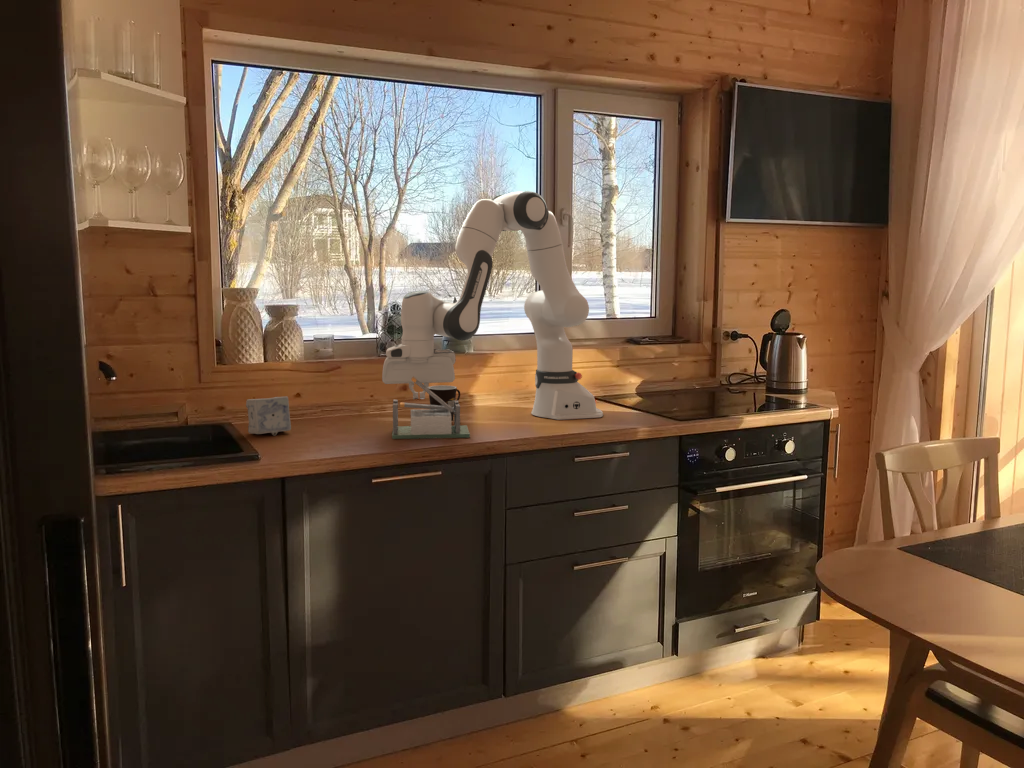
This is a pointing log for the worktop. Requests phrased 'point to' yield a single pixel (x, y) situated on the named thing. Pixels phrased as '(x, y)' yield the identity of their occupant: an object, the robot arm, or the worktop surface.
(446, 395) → the coffee mug
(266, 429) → the incense holder
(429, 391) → the strap
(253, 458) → the worktop surface
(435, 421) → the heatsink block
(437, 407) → the silver flat bar
